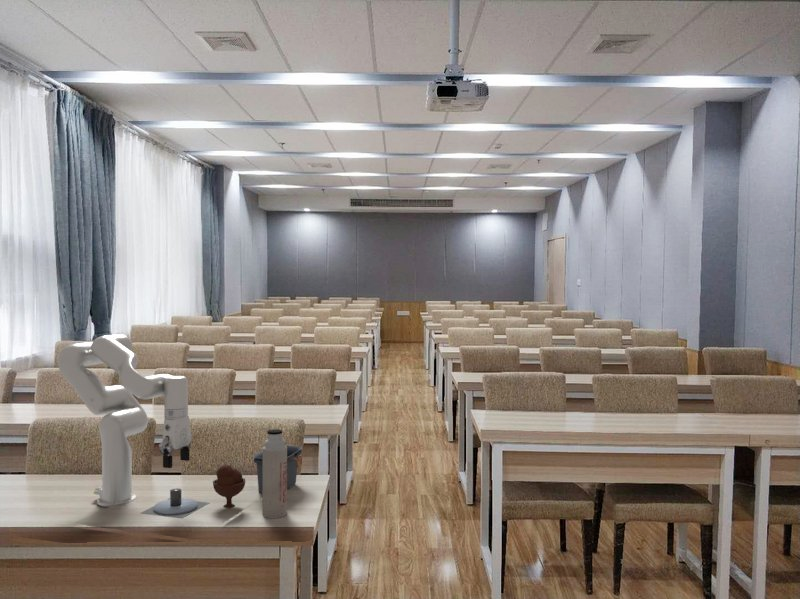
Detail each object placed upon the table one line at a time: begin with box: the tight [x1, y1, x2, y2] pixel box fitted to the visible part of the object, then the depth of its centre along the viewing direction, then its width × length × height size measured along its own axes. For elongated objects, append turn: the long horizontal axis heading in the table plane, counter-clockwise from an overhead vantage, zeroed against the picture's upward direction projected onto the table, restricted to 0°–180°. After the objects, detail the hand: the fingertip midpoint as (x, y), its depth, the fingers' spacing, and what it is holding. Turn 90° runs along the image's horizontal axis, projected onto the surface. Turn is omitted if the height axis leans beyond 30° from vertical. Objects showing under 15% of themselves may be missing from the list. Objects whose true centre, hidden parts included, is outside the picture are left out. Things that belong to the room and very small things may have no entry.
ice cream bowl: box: [212, 464, 246, 509], centre depth 227 cm, size 11×11×15 cm
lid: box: [153, 487, 198, 515], centre depth 225 cm, size 14×14×6 cm
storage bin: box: [252, 444, 303, 495], centre depth 249 cm, size 21×16×14 cm
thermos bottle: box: [261, 428, 288, 519], centre depth 223 cm, size 8×8×28 cm
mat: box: [140, 497, 210, 519], centre depth 225 cm, size 16×16×1 cm
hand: (176, 463), depth 225 cm, fingers open, 9 cm apart
